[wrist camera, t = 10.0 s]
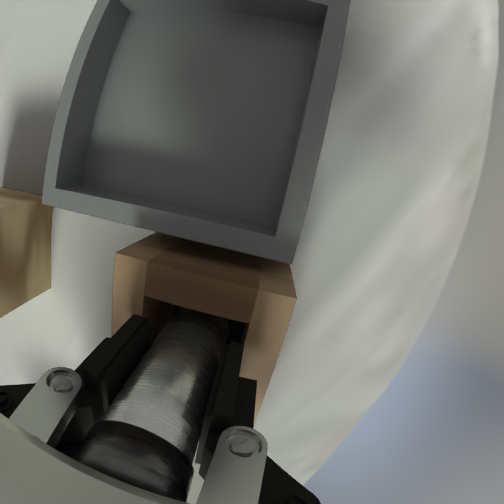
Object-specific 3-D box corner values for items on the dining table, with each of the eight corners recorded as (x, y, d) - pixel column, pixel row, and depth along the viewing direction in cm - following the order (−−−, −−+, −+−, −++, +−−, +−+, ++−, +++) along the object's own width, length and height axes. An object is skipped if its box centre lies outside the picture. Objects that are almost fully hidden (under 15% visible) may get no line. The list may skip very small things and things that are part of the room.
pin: (174, 289, 13) (46, 453, 4) (236, 305, 13) (182, 510, 4) (167, 342, 14) (74, 504, 4) (224, 357, 14) (177, 543, 4)
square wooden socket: (156, 232, 15) (115, 252, 10) (289, 264, 15) (296, 298, 10) (144, 343, 17) (113, 387, 12) (257, 373, 16) (252, 427, 12)
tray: (127, 6, 12) (105, -16, 9) (337, 26, 12) (350, -2, 9) (74, 198, 15) (41, 203, 12) (287, 247, 15) (291, 264, 12)
